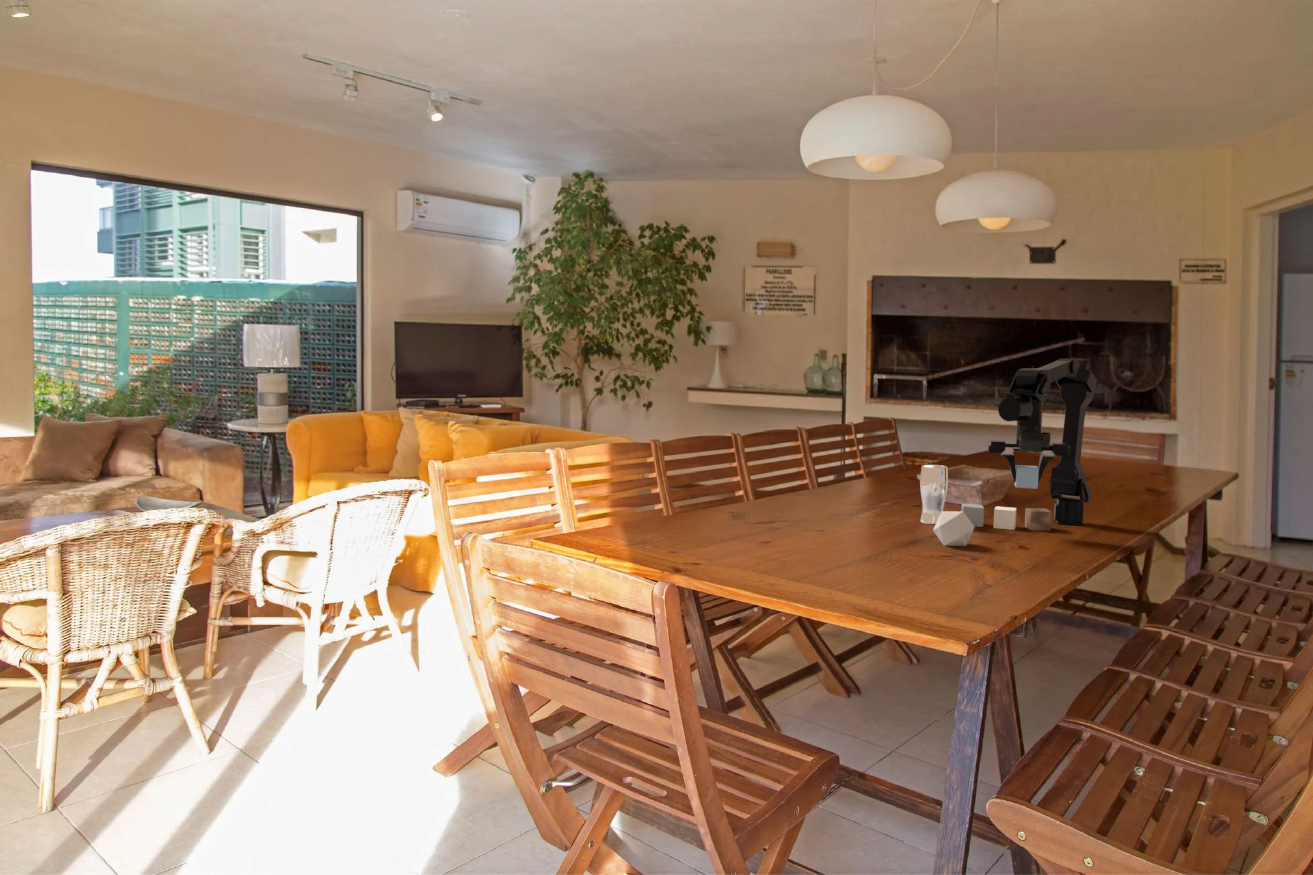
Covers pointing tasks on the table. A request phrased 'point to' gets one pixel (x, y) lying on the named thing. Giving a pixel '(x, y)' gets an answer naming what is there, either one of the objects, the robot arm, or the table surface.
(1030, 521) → the walnut cube
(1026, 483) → the bluish grey cube
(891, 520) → the table surface
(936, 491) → the beer glass
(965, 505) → the grey cube
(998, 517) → the cream cube
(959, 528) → the die
